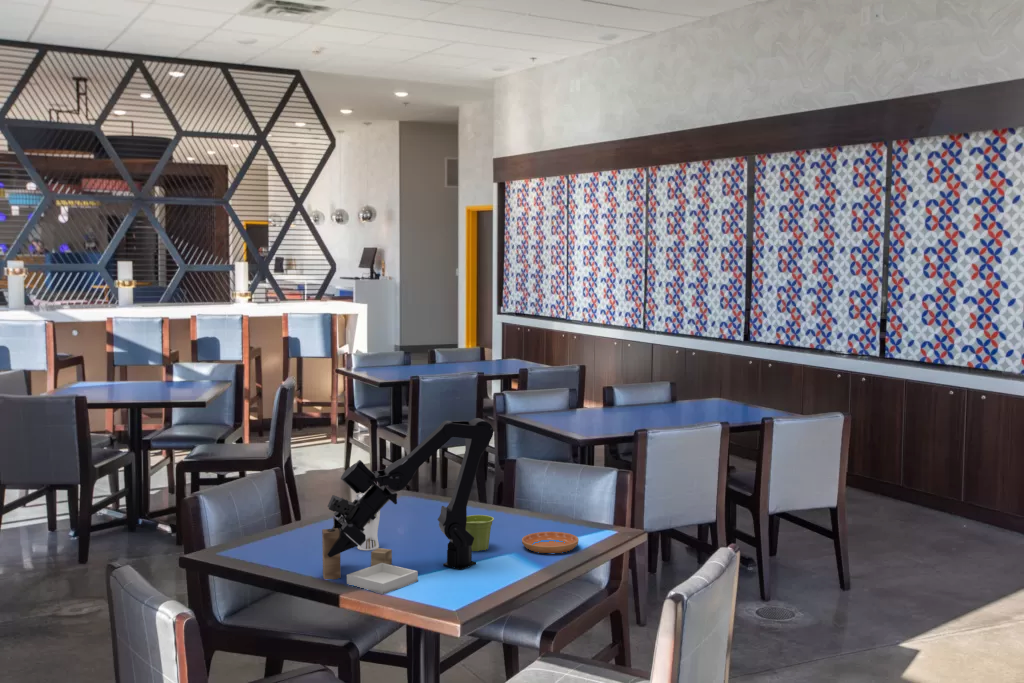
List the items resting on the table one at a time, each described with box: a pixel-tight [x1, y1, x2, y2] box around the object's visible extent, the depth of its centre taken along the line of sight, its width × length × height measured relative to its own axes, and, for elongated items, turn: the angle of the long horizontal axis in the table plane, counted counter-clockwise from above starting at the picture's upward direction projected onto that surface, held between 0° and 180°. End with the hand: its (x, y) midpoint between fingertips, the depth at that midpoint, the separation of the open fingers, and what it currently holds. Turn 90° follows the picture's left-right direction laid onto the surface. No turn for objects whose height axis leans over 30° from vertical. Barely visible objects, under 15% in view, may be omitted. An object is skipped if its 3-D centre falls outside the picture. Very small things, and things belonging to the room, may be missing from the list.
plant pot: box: [466, 514, 495, 552], centre depth 269 cm, size 9×9×9 cm
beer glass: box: [355, 492, 381, 551], centre depth 270 cm, size 7×7×15 cm
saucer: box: [521, 531, 580, 554], centre depth 270 cm, size 16×16×3 cm
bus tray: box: [346, 563, 419, 595], centre depth 238 cm, size 12×12×3 cm
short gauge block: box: [370, 547, 393, 567], centre depth 254 cm, size 4×4×4 cm
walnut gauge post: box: [321, 528, 342, 580], centre depth 243 cm, size 4×4×12 cm
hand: (326, 551), depth 243 cm, fingers open, 9 cm apart
